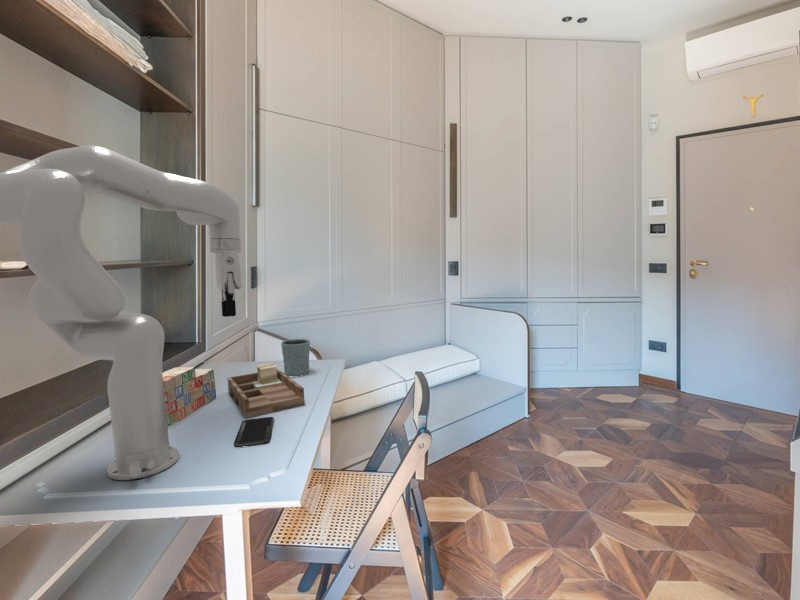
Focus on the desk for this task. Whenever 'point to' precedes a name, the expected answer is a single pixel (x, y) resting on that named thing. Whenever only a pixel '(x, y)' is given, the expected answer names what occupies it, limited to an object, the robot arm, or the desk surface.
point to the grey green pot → (296, 356)
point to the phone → (254, 432)
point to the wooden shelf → (265, 394)
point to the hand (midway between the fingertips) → (229, 315)
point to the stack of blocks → (187, 391)
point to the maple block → (267, 373)
